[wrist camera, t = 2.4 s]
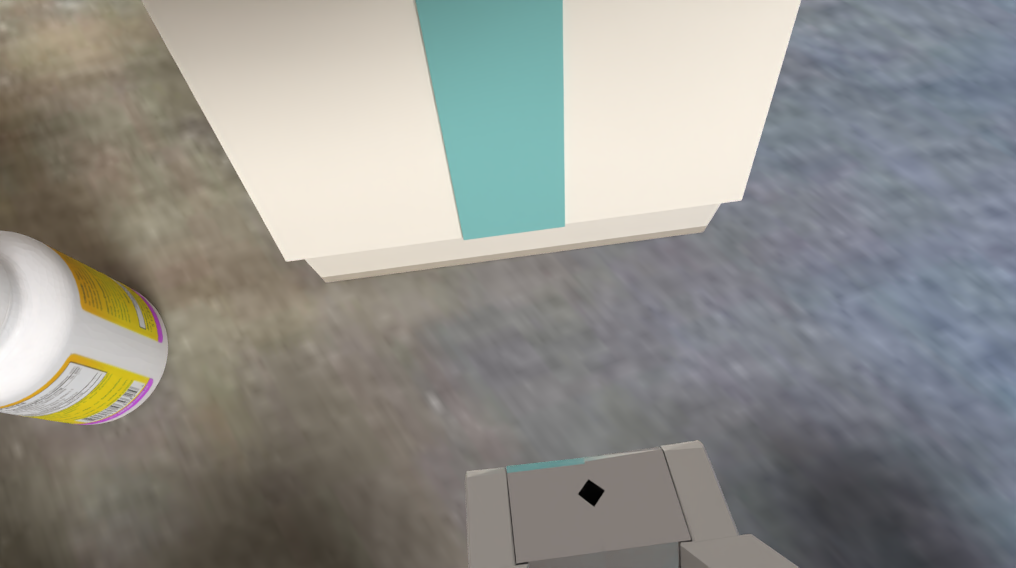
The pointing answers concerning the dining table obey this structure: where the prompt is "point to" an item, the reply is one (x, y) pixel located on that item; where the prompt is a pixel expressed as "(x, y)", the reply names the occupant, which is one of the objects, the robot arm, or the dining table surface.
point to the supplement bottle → (72, 338)
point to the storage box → (513, 244)
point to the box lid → (476, 109)
